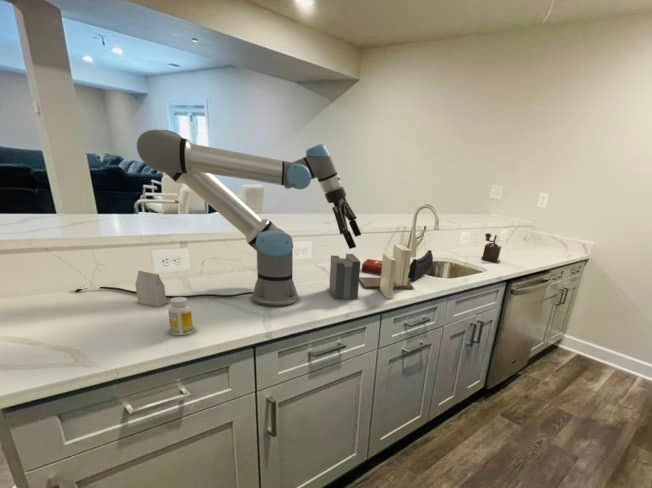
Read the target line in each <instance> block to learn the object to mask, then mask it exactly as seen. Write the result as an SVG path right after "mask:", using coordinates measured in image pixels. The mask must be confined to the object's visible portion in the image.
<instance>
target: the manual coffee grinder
mask: <svg viewBox="0 0 652 488" xmlns="http://www.w3.org/2000/svg"><path fill="white" fill-rule="evenodd" d="M484 236H485V241H486V242H488V243H486V244H485V245H484V249H483V252H482V253H483V254H482V256H481V260H483V261H486V262H491V263H496V264H497V263H498V262H499V260H500V256H501V251H502V246H501V245H498V244H497V243H496V240H497V237H498V236H497V235H496V234H495V235H494V237H493V240H491V238H492V234H491V233H489V232H488V233H485V234H484Z"/></svg>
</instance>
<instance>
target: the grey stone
mask: <svg viewBox="0 0 652 488" xmlns="http://www.w3.org/2000/svg"><path fill="white" fill-rule="evenodd" d="M134 286H135V291H136V292H137V294H136V296H137V303H138V304H143V305H148V306H153V307H160V306H163V305H165V304H167V298H166V296H167V295H166V288H165V284H164V283H163V280H162V279H161V277H160V274H158V273H154V272H150V271H145V270H138V271H137V276H136V280H135V285H134Z"/></svg>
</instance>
